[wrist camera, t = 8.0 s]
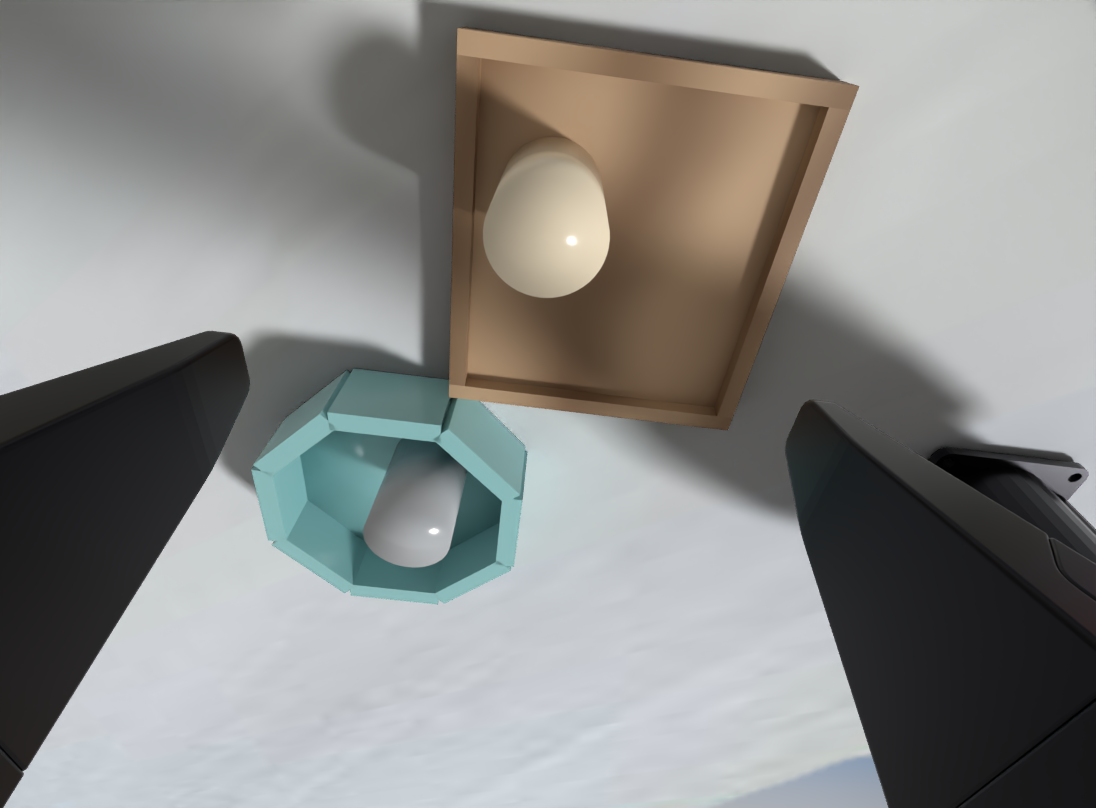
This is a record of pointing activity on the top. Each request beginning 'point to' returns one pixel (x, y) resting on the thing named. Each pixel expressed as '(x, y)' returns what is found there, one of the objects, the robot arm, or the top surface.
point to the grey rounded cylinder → (416, 505)
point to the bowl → (359, 468)
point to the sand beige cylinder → (548, 219)
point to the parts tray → (636, 223)
